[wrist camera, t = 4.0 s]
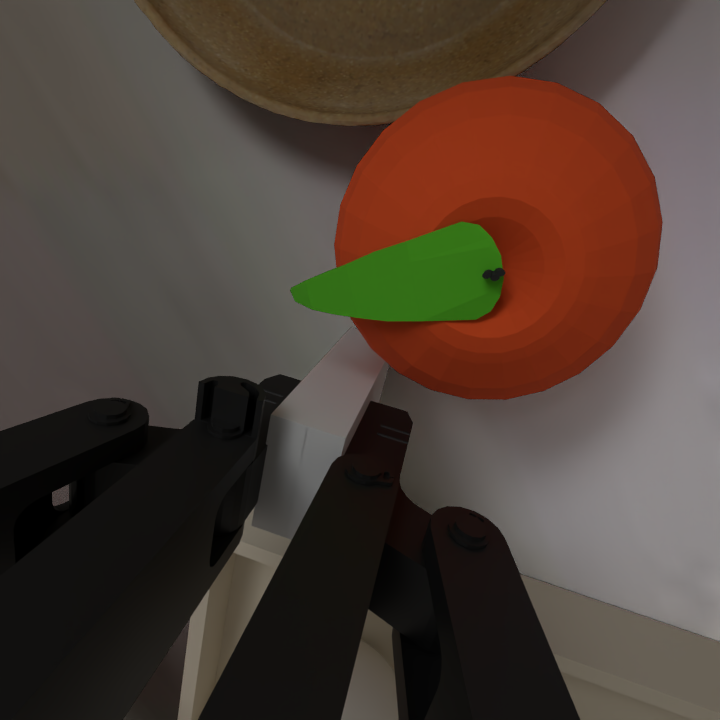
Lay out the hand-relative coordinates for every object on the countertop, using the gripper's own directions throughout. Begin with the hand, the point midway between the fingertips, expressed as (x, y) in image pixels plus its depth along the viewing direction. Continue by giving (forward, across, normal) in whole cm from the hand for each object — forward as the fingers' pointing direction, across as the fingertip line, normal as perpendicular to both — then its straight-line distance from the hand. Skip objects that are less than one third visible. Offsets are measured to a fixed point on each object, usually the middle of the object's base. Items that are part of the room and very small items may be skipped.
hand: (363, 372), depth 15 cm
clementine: (+1, +2, +5) cm, 5 cm away
